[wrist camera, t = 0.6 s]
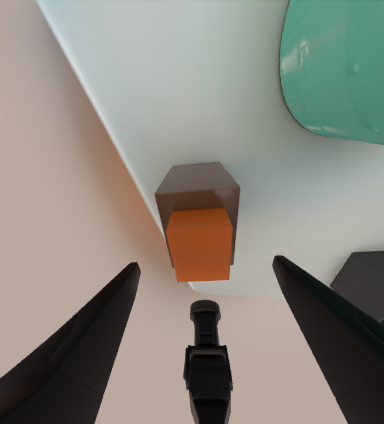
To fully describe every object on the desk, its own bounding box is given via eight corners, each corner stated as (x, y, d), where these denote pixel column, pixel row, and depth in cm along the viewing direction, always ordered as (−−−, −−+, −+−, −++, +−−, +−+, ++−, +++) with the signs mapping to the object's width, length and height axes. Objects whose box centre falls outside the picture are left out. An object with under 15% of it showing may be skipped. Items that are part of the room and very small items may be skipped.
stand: (219, 216, 21) (233, 265, 13) (180, 218, 22) (172, 268, 14) (219, 161, 17) (240, 186, 9) (172, 166, 18) (154, 193, 10)
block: (223, 254, 13) (229, 280, 11) (180, 257, 13) (177, 282, 11) (225, 207, 10) (233, 227, 8) (171, 211, 11) (165, 231, 8)
